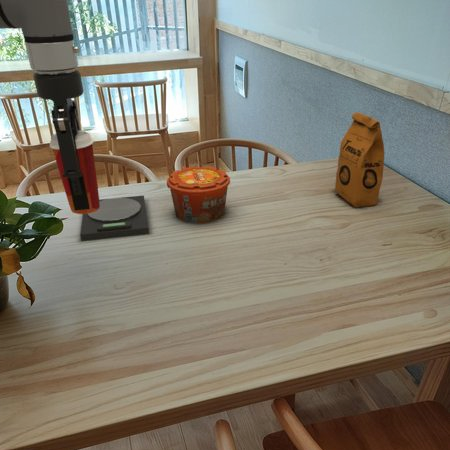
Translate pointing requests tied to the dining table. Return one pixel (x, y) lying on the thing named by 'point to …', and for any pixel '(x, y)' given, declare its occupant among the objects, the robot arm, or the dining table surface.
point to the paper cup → (87, 170)
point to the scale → (116, 219)
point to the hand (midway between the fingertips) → (83, 200)
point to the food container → (199, 193)
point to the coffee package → (361, 162)
